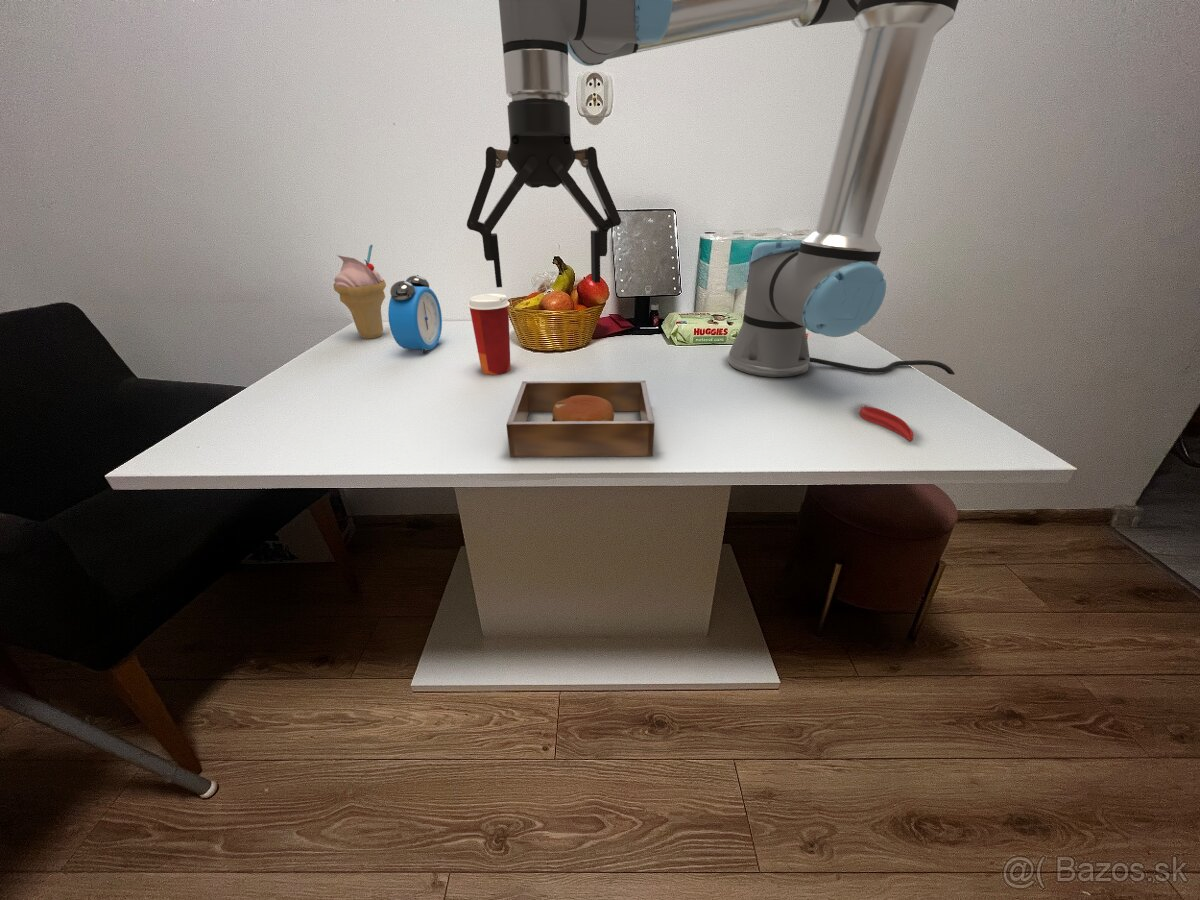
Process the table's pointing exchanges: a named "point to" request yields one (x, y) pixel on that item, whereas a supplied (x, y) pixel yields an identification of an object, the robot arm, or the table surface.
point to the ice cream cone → (362, 294)
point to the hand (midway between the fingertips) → (548, 283)
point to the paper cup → (491, 331)
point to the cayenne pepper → (886, 421)
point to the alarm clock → (414, 314)
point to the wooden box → (580, 434)
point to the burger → (583, 409)
